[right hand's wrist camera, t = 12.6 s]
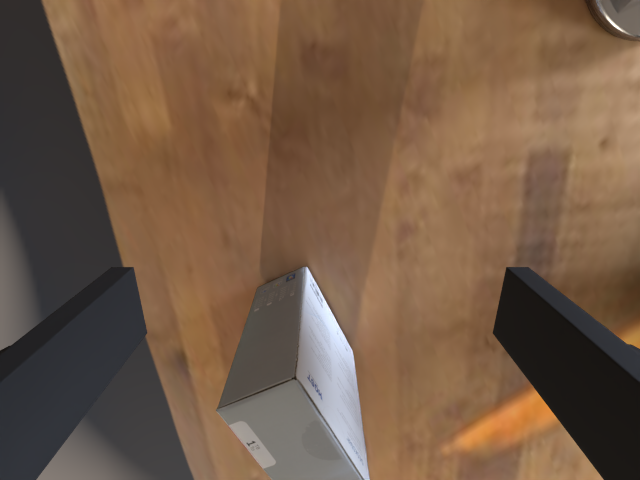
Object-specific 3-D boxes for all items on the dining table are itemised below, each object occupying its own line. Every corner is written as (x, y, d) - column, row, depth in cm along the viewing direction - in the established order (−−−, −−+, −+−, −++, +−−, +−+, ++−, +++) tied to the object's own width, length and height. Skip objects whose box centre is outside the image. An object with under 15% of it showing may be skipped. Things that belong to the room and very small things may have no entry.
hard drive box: (255, 286, 47) (211, 407, 28) (306, 263, 45) (297, 373, 27) (307, 371, 52) (300, 521, 33) (355, 352, 50) (376, 497, 32)
